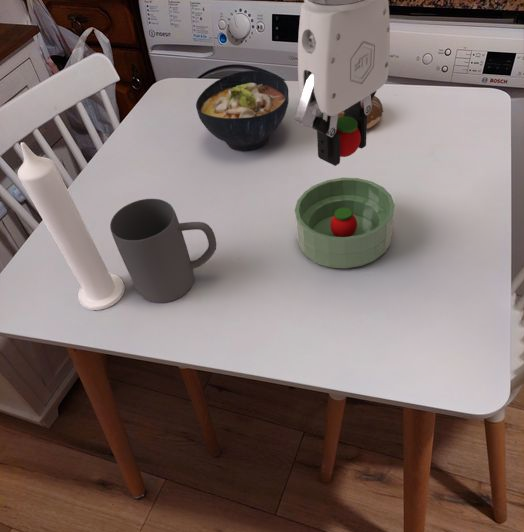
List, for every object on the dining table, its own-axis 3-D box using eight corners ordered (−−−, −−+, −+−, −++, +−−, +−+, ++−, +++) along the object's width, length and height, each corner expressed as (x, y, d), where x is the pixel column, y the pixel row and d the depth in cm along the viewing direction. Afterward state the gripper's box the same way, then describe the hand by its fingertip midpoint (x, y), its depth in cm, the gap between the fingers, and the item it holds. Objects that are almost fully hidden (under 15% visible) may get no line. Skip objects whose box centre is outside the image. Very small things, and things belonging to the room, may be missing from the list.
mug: (133, 307, 76) (103, 245, 66) (140, 264, 81) (114, 201, 72) (224, 297, 75) (207, 233, 65) (225, 255, 80) (209, 190, 71)
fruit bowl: (342, 198, 85) (342, 166, 80) (410, 235, 78) (415, 202, 73) (279, 241, 81) (275, 210, 76) (345, 285, 73) (346, 254, 68)
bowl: (191, 160, 98) (177, 109, 90) (225, 113, 107) (216, 63, 99) (274, 169, 93) (268, 116, 85) (303, 119, 102) (300, 66, 94)
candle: (76, 287, 80) (-11, 138, 60) (119, 271, 81) (47, 119, 61) (84, 317, 76) (-7, 168, 56) (129, 299, 77) (56, 147, 57)
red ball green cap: (343, 224, 80) (342, 201, 77) (362, 234, 78) (362, 211, 75) (325, 237, 79) (324, 214, 76) (344, 247, 77) (343, 224, 74)
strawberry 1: (328, 140, 65) (332, 110, 61) (359, 145, 64) (365, 115, 61) (322, 161, 63) (326, 130, 59) (355, 166, 62) (361, 136, 59)
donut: (344, 142, 95) (344, 122, 92) (316, 118, 101) (316, 98, 98) (393, 123, 97) (395, 102, 94) (363, 101, 103) (363, 81, 100)
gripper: (307, 19, 44) (315, 196, 59) (430, -44, 50) (410, 132, 64) (251, 2, 48) (272, 172, 63) (371, -55, 54) (364, 114, 68)
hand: (342, 151), depth 63 cm, fingers closed on strawberry 1, 3 cm apart
